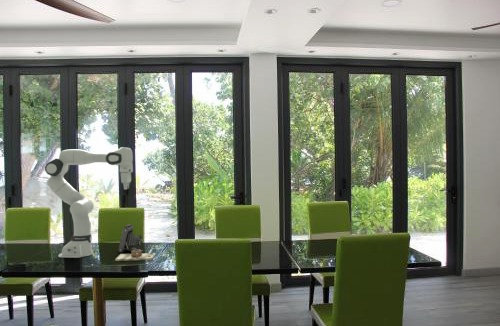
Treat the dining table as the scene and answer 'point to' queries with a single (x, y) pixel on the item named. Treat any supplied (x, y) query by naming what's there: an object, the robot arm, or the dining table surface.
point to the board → (128, 257)
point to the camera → (129, 240)
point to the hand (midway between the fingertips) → (126, 188)
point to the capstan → (136, 253)
